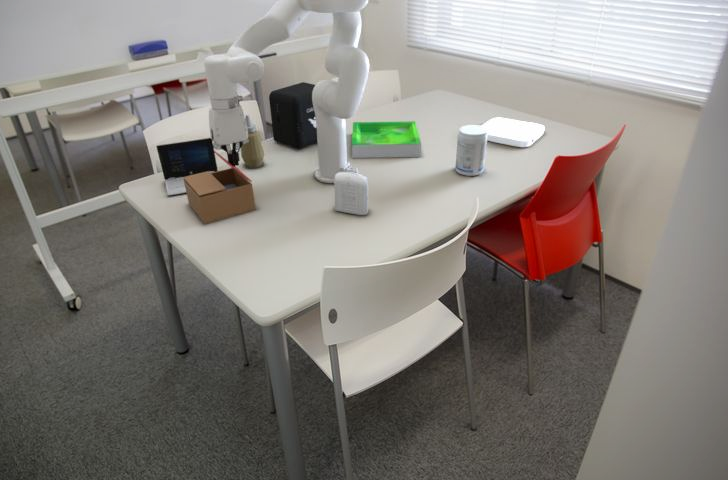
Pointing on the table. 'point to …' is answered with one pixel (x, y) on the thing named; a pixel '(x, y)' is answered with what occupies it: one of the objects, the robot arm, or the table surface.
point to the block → (229, 187)
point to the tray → (385, 139)
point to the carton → (219, 194)
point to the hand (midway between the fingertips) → (234, 164)
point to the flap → (233, 166)
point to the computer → (513, 132)
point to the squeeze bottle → (252, 147)
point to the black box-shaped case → (293, 116)
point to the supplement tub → (471, 150)
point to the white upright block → (351, 193)
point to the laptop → (185, 162)
